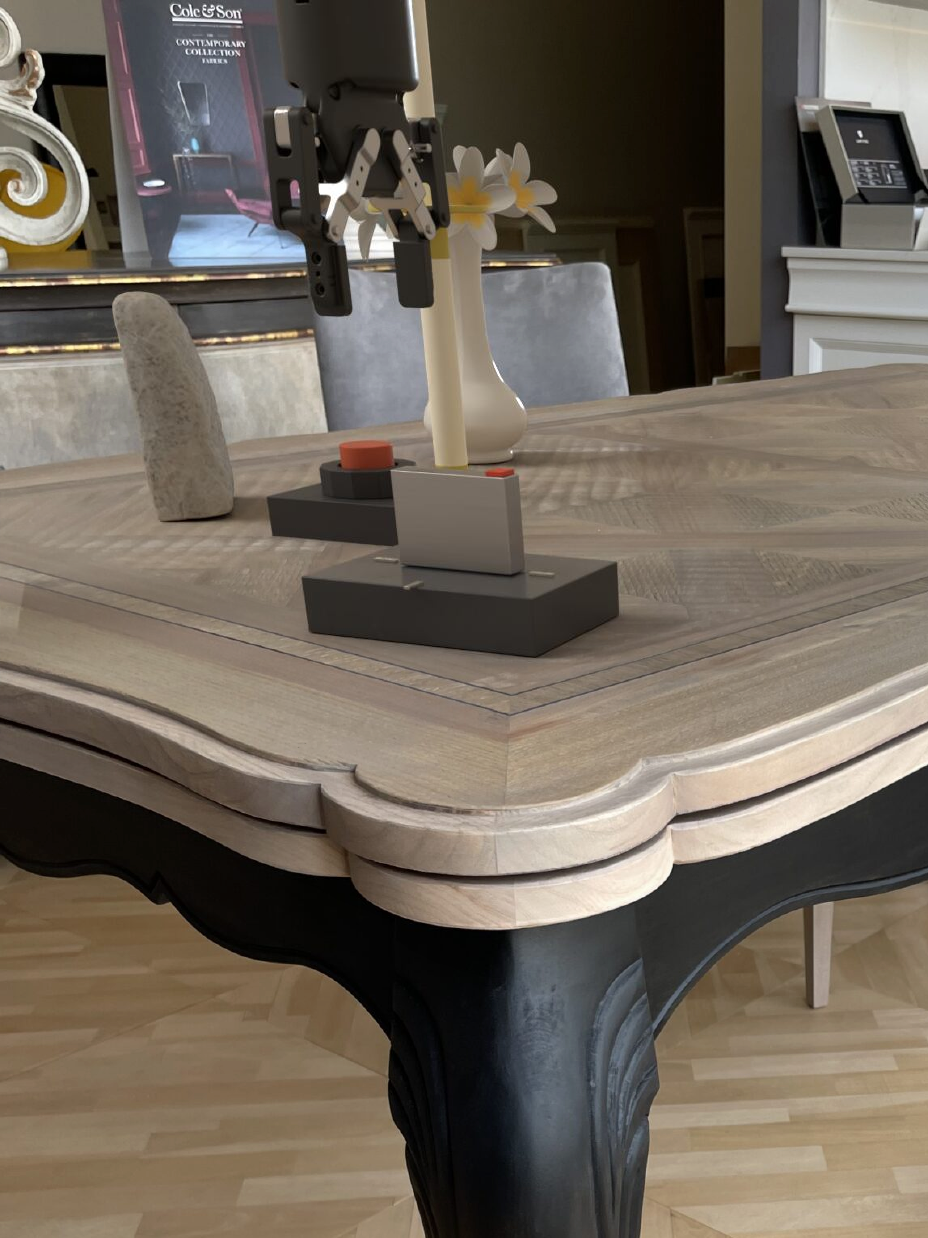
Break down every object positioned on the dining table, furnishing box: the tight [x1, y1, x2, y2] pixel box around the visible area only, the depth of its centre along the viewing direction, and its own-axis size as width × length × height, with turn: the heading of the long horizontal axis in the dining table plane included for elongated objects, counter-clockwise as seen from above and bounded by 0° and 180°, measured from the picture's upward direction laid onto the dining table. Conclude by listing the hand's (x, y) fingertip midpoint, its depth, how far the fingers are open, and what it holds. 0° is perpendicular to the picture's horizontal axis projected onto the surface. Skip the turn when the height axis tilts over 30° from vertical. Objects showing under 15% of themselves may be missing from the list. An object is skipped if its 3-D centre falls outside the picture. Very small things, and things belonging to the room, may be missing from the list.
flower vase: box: [349, 141, 558, 465], centre depth 132 cm, size 13×18×25 cm
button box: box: [266, 457, 417, 547], centre depth 107 cm, size 11×9×4 cm
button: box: [338, 439, 395, 469], centre depth 106 cm, size 4×4×2 cm
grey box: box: [391, 465, 525, 575], centre depth 82 cm, size 7×2×5 cm, turn 69°
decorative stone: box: [111, 291, 235, 522], centre depth 111 cm, size 11×6×15 cm, turn 9°
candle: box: [368, 0, 487, 470], centre depth 111 cm, size 10×10×38 cm
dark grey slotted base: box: [300, 545, 620, 658], centre depth 84 cm, size 14×11×3 cm
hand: (377, 311), depth 93 cm, fingers open, 8 cm apart
